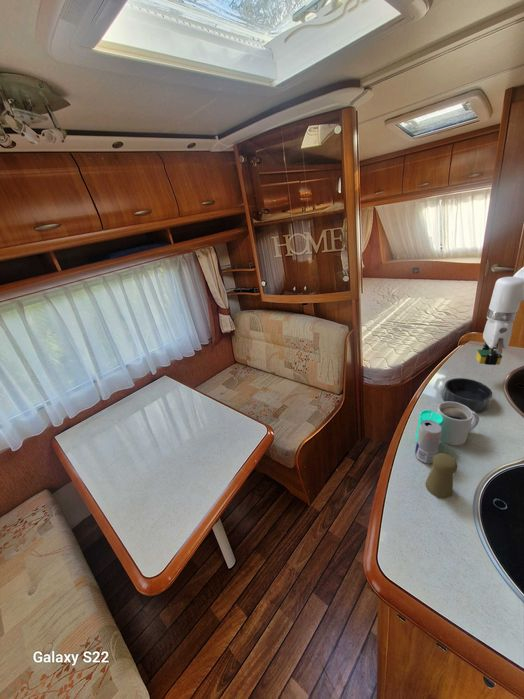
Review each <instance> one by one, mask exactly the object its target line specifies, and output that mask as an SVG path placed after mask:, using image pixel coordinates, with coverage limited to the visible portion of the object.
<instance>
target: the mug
mask: <svg viewBox="0 0 524 699" xmlns="http://www.w3.org/2000/svg"><path fill="white" fill-rule="evenodd" d="M436 413H438V414H439V415H441V416H442V418H443V422H442V427H441V428H442V434H441V438H440V442H441V443H445V444H447V445H451V446H460V445H463V444H465V443H466V442H467V438H468V435H469V432H471V431H473V430H474V429H475V428H476V427H477V426H478V425H479V422H480V416H479V414H478V413H475V412H474V411H471V410H470V409H469V408H468V407H467V406H465V405H463V404H460V403H457V402H451V401H446V402H444V401H443V402H440V403H439V404H438V405H437V410H436ZM473 418H474V419H473Z"/></svg>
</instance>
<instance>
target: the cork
mask: <svg viewBox="0 0 524 699" xmlns="http://www.w3.org/2000/svg"><path fill="white" fill-rule="evenodd" d="M432 462H433V463H432V468H431V470H430V472H429V474H428V476H427V478H426V481H425V488H426V490H427V491H428V492H429V493H430V495H432V496H434V497H436V498H439V499H449V498H451V497H452V495H453V489H454V487H453V486H454V474H455V473H456V472H457V471H458V468H459V466H458V462H457V461H456V459H455V458H454V457H453V456H452V455H450V454H448V453H444V452H439V453H437V454H436V455H435V456H434V457H433V460H432Z"/></svg>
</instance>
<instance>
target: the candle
mask: <svg viewBox="0 0 524 699" xmlns="http://www.w3.org/2000/svg"><path fill="white" fill-rule="evenodd" d="M425 420H431V421H434V422H436V423H438V424H439V425H440V426H441V427H442V422H443V418H442V416H441V415H439V414H438V413H437V411H433V410H430V409H424V410H421V411H420V412H419V416H418V422H417V428H416V432H415V444H417V438H418V432H419V427H420V424H421V422H422V421H425Z"/></svg>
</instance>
